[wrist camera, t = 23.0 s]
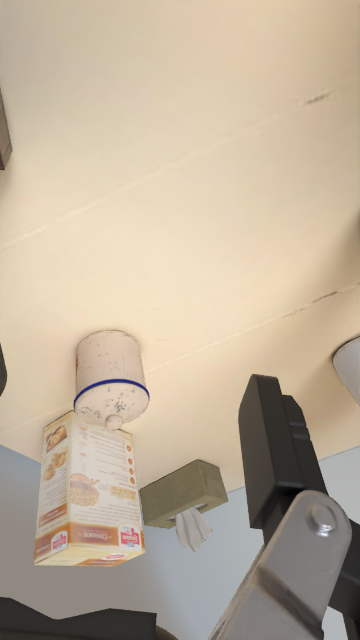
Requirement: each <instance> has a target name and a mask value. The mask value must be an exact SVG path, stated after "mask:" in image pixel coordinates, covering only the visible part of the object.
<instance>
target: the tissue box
mask: <svg viewBox="0 0 360 640" xmlns="http://www.w3.org/2000/svg"><path fill="white" fill-rule="evenodd" d="M140 496H141V504H142V512H143V520H144V525H146V526H153V527H160V528H167V529H170V528H172V527H174V526H176V533H177V536H178V540H179V542H180V543H181V545H182V546H183V547H186V546H190V547H191V548H192V550H193V552H197V551H198V550H199V548H200V546H201V545H202V543H203V542H204V541H205V540H206V539H207V537H208V535H209V533H211V532H212V529H211V528H210V526H209V525H208V524H207V522H206V521H205V519H204V518H203V517H202V515H201V514H202V513H204V512H206V511H208V510H210V509H213V508H215V507H217V506H219V505H221V504H223V503H225V502H228V498H227V494H226V491H225V487H224V484H223V481H222V477H221V474H220V470H219V468H218V467H215V466H213V465H210V464H208V463H205V462H202V461H200V460H196V461H194V462H192V463H190V464H188V465H186V466H184V467H182V468H181V469H179V470H177V471H175V472H173V473H171V474H169V475H167V476H165V477H163V478H162V479H160V480H158V481H156V482H154V483H152V484H150V485H148V486H146V487H144V488H143V489H141V490H140Z"/></svg>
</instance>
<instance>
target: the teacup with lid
mask: <svg viewBox="0 0 360 640" xmlns="http://www.w3.org/2000/svg"><path fill="white" fill-rule="evenodd" d="M148 404H149V392H148V390H147V389H146V385H145V379H144V373H143V367H142V361H141V355H140V349H139V345H138V343H137V342H136V340H135V339H134V338H133V337H131V336H130V335H128V334H126V333H123V332H119V331H102V332H98V333H95V334H92V335H90V336H88V337H87V338H85V339H84V340H83V341H82V342H81V343H80V344H79V346H78V348H77V351H76V398H75V400H74V410H75V412H76V414H77V416H78V417H79V418H80V419H81V420H82V421H84V422H86V423H88V424H91V425H94V426H102V427H107V428H108V429H110V430H116V429H119V428H120V427H121V426H122V425H123V424H125V423H128V422H130V421H132V420H134V419H136V418H138V417H139V416H140V415H141V414H142V413H143V412H144V411H145V410H146V408H147V406H148Z"/></svg>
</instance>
